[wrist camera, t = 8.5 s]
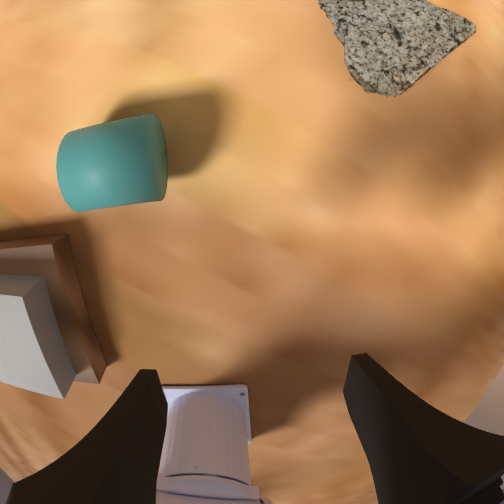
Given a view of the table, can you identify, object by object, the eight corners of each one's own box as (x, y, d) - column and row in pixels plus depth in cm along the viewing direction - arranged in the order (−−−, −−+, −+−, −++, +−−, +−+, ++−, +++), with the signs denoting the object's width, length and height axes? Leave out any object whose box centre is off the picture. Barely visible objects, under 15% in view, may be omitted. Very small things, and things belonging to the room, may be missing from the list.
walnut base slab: (109, 361, 23) (99, 383, 20) (17, 350, 22) (4, 367, 19) (72, 230, 19) (51, 244, 16) (-22, 242, 18) (-42, 254, 15)
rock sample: (367, -74, 7) (484, -17, 5) (409, -10, 13) (493, 56, 11) (263, 14, 14) (346, 92, 11) (326, 59, 20) (394, 135, 17)
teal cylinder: (154, 96, 14) (75, 115, 13) (138, 153, 11) (46, 173, 11) (170, 158, 18) (101, 169, 18) (163, 218, 16) (85, 228, 15)
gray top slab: (76, 374, 20) (64, 399, 17) (4, 358, 19) (-10, 377, 16) (44, 276, 16) (22, 296, 14) (-28, 272, 16) (-49, 287, 13)
